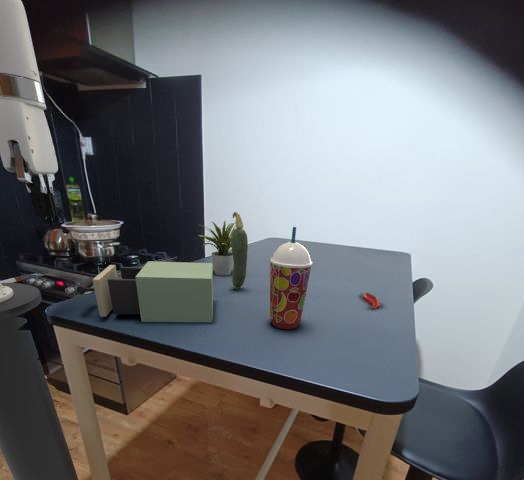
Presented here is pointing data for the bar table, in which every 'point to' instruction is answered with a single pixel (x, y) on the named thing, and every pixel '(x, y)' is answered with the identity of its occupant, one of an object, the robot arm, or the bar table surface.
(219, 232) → the house plant
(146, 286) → the pale green box
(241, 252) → the vegetable
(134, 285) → the drawer
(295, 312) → the smoothie
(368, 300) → the cayenne pepper
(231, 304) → the bar table surface
